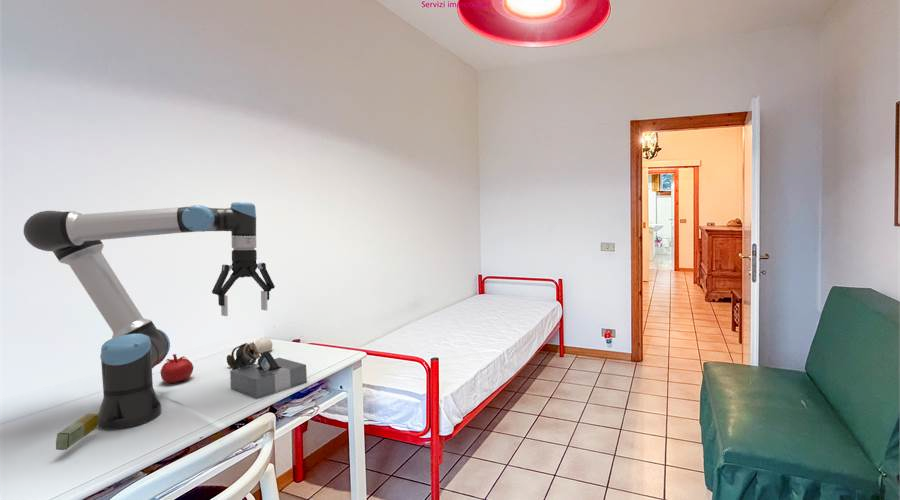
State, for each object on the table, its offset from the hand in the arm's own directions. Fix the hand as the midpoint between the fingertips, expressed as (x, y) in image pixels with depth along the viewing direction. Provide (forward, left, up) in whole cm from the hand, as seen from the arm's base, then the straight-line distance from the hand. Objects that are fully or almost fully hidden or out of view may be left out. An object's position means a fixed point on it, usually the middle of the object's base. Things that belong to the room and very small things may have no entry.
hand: (245, 312), depth 151 cm
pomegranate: (-11, +28, -25) cm, 39 cm away
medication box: (-46, -1, -25) cm, 52 cm away
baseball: (+25, +33, -25) cm, 48 cm away
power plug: (+1, +11, -26) cm, 28 cm away
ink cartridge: (+4, -9, -20) cm, 23 cm away
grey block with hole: (+4, -6, -25) cm, 26 cm away
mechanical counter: (+8, +20, -25) cm, 33 cm away
